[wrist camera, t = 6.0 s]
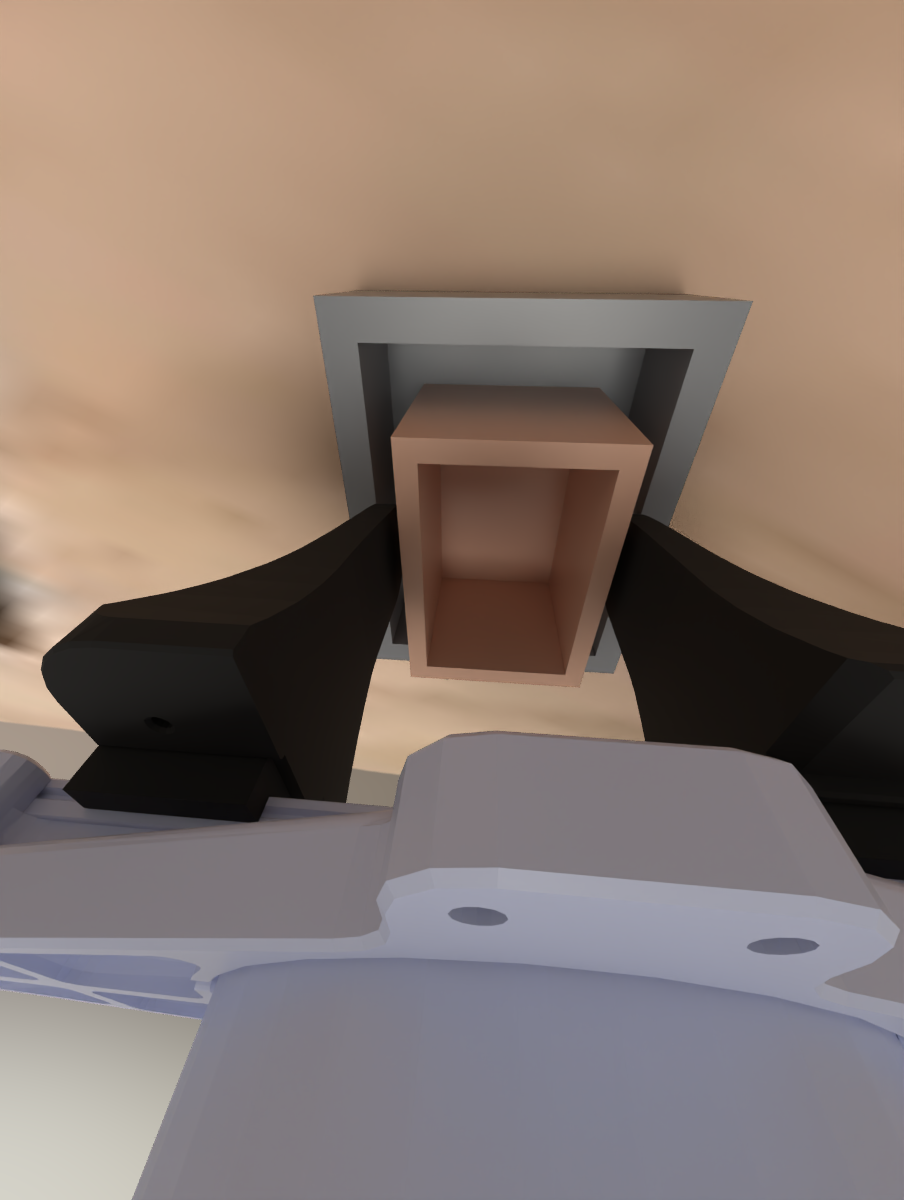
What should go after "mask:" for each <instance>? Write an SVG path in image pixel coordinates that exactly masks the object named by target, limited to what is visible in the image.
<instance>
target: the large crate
mask: <svg viewBox="0 0 904 1200" xmlns="http://www.w3.org/2000/svg"><path fill="white" fill-rule="evenodd" d="M313 297H314V303H315V309H316V315H317V321H318V327H319V334H320V340H321V346H322V352H323V358H324V364H325V370H326V376H327V383H328V389H329V395H330V401H331V407H332V413H333V419H334V425H335V432H336V438H337V444H338V450H339V456H340V462H341V468H342V474H343V481H344V487H345V493H346V499H347V505H348V511H349V517H350V519H351V518H352V517H354V516H355V515H357V514H359V513H360V512H362V511H363V510H365V509H366V508H368V507H370V506H372V505H374V504H376V503H377V504H396V494H395V483H394V471H393V459H392V447H391V436H392V434H393V433H394V431H395V429H396V428H397V426H398V425H399V423H400V422H401V420H402V418H403V417H404V415H405V414H406V412H407V410H408V409H409V407H410V406H411V404H412V402H413V401H414V399H415V398H416V396H417V394H418V393H419V391H420V390H421V388H422V387H423V385H424V384H456V385H500V386H544V387H588V388H600V389H601V390H602V391H603V392H604V393H605V394H606V395H607V396H608V397H609V398H610V399H611V400H612V401H613V403H614V404H615V405H616V406H617V407H618V408H619V409H620V410H621V411H622V412H623V413H624V414H625V415H626V416H627V417H628V419H629V420H630V421H631V422H632V423H633V424H634V425H635V426H636V427H637V428H638V429H639V430H640V431H641V432H642V433H643V434H644V436H645V437H646V438H647V439H648V440H649V441H650V442H651V443H652V444H653V449H652V452H651V455H650V458H649V462H648V465H647V468H646V471H645V475H644V478H643V481H642V485H641V488H640V491H639V494H638V498H637V501H636V504H635V507H634V511H633V514H643V515H646V516H649V517H651V518H653V519H655V520H657V521H659V522H661V523H662V524H664V525H666V526H668V527H669V524H670V521H671V519H672V516H673V513H674V511H675V508H676V505H677V503H678V500H679V497H680V494H681V492H682V489H683V486H684V484H685V481H686V478H687V476H688V473H689V470H690V468H691V465H692V462H693V460H694V457H695V454H696V452H697V449H698V446H699V444H700V441H701V438H702V436H703V433H704V430H705V428H706V425H707V422H708V420H709V417H710V414H711V412H712V409H713V406H714V404H715V401H716V398H717V396H718V393H719V390H720V388H721V385H722V382H723V380H724V377H725V374H726V372H727V369H728V366H729V364H730V361H731V358H732V356H733V353H734V350H735V348H736V345H737V342H738V340H739V337H740V334H741V332H742V329H743V326H744V324H745V321H746V318H747V316H748V313H749V310H750V308H751V305H752V302H753V301H746V300H736V299H727V298H717V297H708V296H698V295H688V294H620V293H532V292H444V291H350V292H341V293H333V294H325V295H316V296H313ZM620 655H621V650H620V647H619V644H618V641H617V639H616V636H615V633H614V630H613V627H612V624H611V622H610V619H609V616H608V613H607V610H606V605H605V606H604V609H603V612H602V616H601V619H600V622H599V625H598V629H597V632H596V635H595V639H594V642H593V645H592V648H591V652H590V655H589V658H588V661H587V665H586V668H585V671H584V672H598V673H614V671H615V668H616V665H617V663H618V660H619V657H620ZM377 659H392V660H408V661H410V659H409V648H408V636H407V624H406V612H405V600H404V589H403V577H402V580H401V586H400V590H399V595H398V599H397V602H396V605H395V608H394V611H393V614H392V616H391V619H390V622H389V625H388V628H387V631H386V633H385V636H384V639H383V642H382V645H381V647H380V650H379V653H378V656H377Z"/></svg>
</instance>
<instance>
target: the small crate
mask: <svg viewBox="0 0 904 1200" xmlns="http://www.w3.org/2000/svg"><path fill="white" fill-rule="evenodd" d="M391 447H392V459H393V471H394V483H395V494H396V506H397V518H398V530H399V542H400V553H401V565H402V577H403V589H404V600H405V612H406V624H407V636H408V648H409V659H410V671H411V677H424V678H440V679H455V680H471V681H486V682H502V683H518V684H533V685H549V686H564V687H580V684H581V681H582V678H583V675H584V671H585V668H586V665H587V661H588V658H589V655H590V652H591V648H592V645H593V642H594V639H595V635H596V632H597V629H598V625H599V622H600V619H601V616H602V612H603V609H604V606H605V602H606V599H607V596H608V593H609V589H610V586H611V583H612V580H613V576H614V573H615V570H616V566H617V563H618V560H619V557H620V553H621V550H622V547H623V544H624V540H625V537H626V534H627V530H628V527H629V524H630V521H631V517H632V514H633V511H634V507H635V504H636V501H637V498H638V494H639V491H640V488H641V485H642V481H643V478H644V475H645V471H646V468H647V465H648V462H649V458H650V455H651V452H652V449H653V444H652V443H651V442H650V441H649V440H648V439H647V438H646V437H645V436H644V434H643V433H642V432H641V431H640V430H639V429H638V428H637V427H636V426H635V425H634V424H633V423H632V422H631V421H630V420H629V419H628V417H627V416H626V415H625V414H624V413H623V412H622V411H621V410H620V409H619V408H618V407H617V406H616V405H615V404H614V403H613V401H612V400H611V399H610V398H609V397H608V396H607V395H606V394H605V393H604V392H603V391H602V390H601V389H600V388H588V387H544V386H500V385H456V384H424V385H423V387H422V388H421V390H420V391H419V393H418V394H417V396H416V398H415V399H414V401H413V402H412V404H411V406H410V407H409V409H408V410H407V412H406V414H405V415H404V417H403V418H402V420H401V422H400V423H399V425H398V426H397V428H396V429H395V431H394V433H393V434H392V436H391Z"/></svg>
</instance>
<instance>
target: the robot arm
mask: <svg viewBox="0 0 904 1200" xmlns="http://www.w3.org/2000/svg"><path fill="white" fill-rule="evenodd" d="M401 580H402V565H401V553H400V542H399V530H398V518H397V506H396V504H377V503H376V504H374V505H372V506H370V507H368V508H366V509H365V510H363V511H362V512H360V513H359V514H357V515H355V516H354V517H352V518H351V519H349V520H348V521H346V522H345V523H343V524H341V525H340V526H338V527H337V528H335V529H334V530H332V531H330V532H329V533H327V534H325V535H323V536H322V537H320V538H318V539H316V540H315V541H313V542H311V543H309V544H308V545H306V546H304V547H302V548H300V549H298V550H296V551H294V552H292V553H290V554H288V555H285V556H283V557H281V558H278V559H276V560H274V561H272V562H269V563H267V564H264V565H261V566H259V567H256V568H253V569H250V570H247V571H244V572H241V573H239V574H236V575H233V576H230V577H227V578H224V579H220V580H217V581H213V582H209V583H206V584H202V585H198V586H194V587H190V588H186V589H182V590H178V591H173V592H169V593H164V594H159V595H154V596H148V597H143V598H137V599H132V600H127V601H121V602H115V603H109V604H104V605H102V606H100V607H99V608H98V609H97V610H96V611H94V612H93V613H92V614H91V615H90V616H89V617H88V618H86V619H85V620H84V621H83V622H82V623H81V624H79V625H78V626H77V627H76V628H75V629H73V630H72V631H71V632H70V633H69V634H68V635H66V636H65V637H64V638H63V639H62V640H60V641H59V642H58V643H57V644H56V645H55V646H53V647H52V648H51V649H50V650H49V651H48V652H47V653H46V654H45V655H44V656H43V660H42V666H41V671H42V675H43V678H44V681H45V684H46V687H47V689H48V690H49V691H50V693H51V694H52V695H53V697H54V698H55V699H56V701H57V702H58V703H59V704H60V705H61V706H62V707H63V708H64V709H65V710H66V711H67V712H68V714H69V715H70V716H71V717H72V718H73V719H74V720H75V721H76V722H77V723H78V724H79V725H80V726H81V727H82V728H83V730H84V731H85V732H86V733H87V734H88V735H89V736H90V737H91V738H92V739H93V740H94V741H95V742H96V743H97V744H98V745H99V746H98V747H97V748H96V749H95V751H94V752H93V753H92V754H91V755H90V757H89V758H88V759H87V760H86V761H85V763H84V764H83V765H82V766H81V767H80V769H79V770H78V771H77V772H76V773H75V775H74V776H73V777H72V778H71V779H70V780H65V779H53V778H51V777H50V775H49V773H48V772H47V771H46V770H45V769H44V768H43V767H42V766H41V765H40V764H39V763H38V762H36V761H35V760H33V759H31V758H30V757H28V756H25V755H23V754H20V753H18V752H13V751H8V750H0V990H5V991H11V992H19V993H26V994H32V995H40V996H46V997H53V998H60V999H66V1000H74V1001H80V1002H87V1003H93V1004H100V1005H106V1006H113V1007H120V1008H126V1009H133V1010H140V1011H147V1012H153V1013H159V1014H166V1015H173V1016H179V1017H186V1018H192V1019H199V1020H202V1021H201V1024H200V1027H199V1029H198V1032H197V1034H196V1037H195V1039H194V1042H193V1044H192V1047H191V1050H190V1052H189V1055H188V1057H187V1060H186V1062H185V1065H184V1068H183V1070H182V1073H181V1075H180V1078H179V1080H178V1083H177V1085H176V1088H175V1091H174V1093H173V1096H172V1098H171V1101H170V1103H169V1106H168V1108H167V1111H166V1114H165V1116H164V1119H163V1121H162V1124H161V1127H160V1129H159V1132H158V1134H157V1137H156V1139H155V1142H154V1144H153V1147H152V1149H151V1152H150V1155H149V1157H148V1160H147V1162H146V1165H145V1167H144V1170H143V1172H142V1175H141V1178H140V1180H139V1183H138V1186H137V1188H136V1191H135V1193H134V1196H133V1198H132V1200H904V628H901V627H898V626H894V625H890V624H887V623H883V622H880V621H876V620H873V619H870V618H867V617H864V616H861V615H857V614H854V613H851V612H848V611H845V610H842V609H839V608H836V607H834V606H831V605H828V604H825V603H822V602H819V601H817V600H814V599H811V598H808V597H806V596H803V595H801V594H798V593H795V592H793V591H790V590H788V589H786V588H783V587H781V586H779V585H777V584H774V583H772V582H770V581H767V580H765V579H763V578H760V577H758V576H756V575H754V574H752V573H750V572H748V571H746V570H744V569H742V568H740V567H738V566H736V565H734V564H732V563H730V562H728V561H727V560H725V559H723V558H721V557H719V556H717V555H715V554H714V553H712V552H710V551H708V550H707V549H705V548H703V547H701V546H700V545H698V544H696V543H695V542H693V541H691V540H690V539H688V538H686V537H685V536H683V535H681V534H680V533H678V532H676V531H674V530H673V529H671V528H669V527H668V526H666V525H664V524H662V523H661V522H659V521H657V520H655V519H653V518H651V517H649V516H646V515H643V514H632V517H631V521H630V524H629V527H628V530H627V534H626V537H625V540H624V544H623V547H622V550H621V553H620V557H619V560H618V563H617V566H616V570H615V573H614V576H613V580H612V583H611V586H610V589H609V593H608V596H607V599H606V602H605V605H606V610H607V613H608V616H609V619H610V622H611V624H612V627H613V630H614V633H615V636H616V639H617V641H618V644H619V647H620V650H621V652H622V655H623V658H624V661H625V664H626V666H627V669H628V672H629V675H630V678H631V681H632V685H633V688H634V691H635V696H636V700H637V705H638V709H639V713H640V718H641V722H642V727H643V732H644V737H645V741H631V740H618V739H604V738H590V737H576V736H562V735H548V734H534V733H521V732H507V731H487V732H475V733H463V734H451V735H448V736H446V737H444V738H442V739H440V740H438V741H436V742H434V743H432V744H430V745H428V746H426V747H424V748H422V749H420V750H418V751H416V752H414V753H413V754H411V755H409V756H408V757H407V759H406V762H405V765H404V767H403V770H402V772H401V775H400V777H399V780H398V785H397V791H396V796H395V801H394V806H393V807H387V806H374V805H362V804H351V803H346V800H347V793H348V787H349V781H350V776H351V771H352V766H353V761H354V755H355V750H356V745H357V740H358V735H359V730H360V725H361V720H362V716H363V711H364V706H365V702H366V697H367V693H368V689H369V684H370V680H371V675H372V672H373V668H374V665H375V662H376V659H377V656H378V653H379V650H380V647H381V645H382V642H383V639H384V636H385V633H386V631H387V628H388V625H389V622H390V619H391V616H392V614H393V611H394V608H395V605H396V602H397V599H398V595H399V590H400V586H401Z"/></svg>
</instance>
